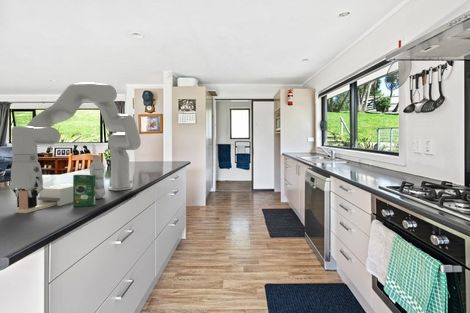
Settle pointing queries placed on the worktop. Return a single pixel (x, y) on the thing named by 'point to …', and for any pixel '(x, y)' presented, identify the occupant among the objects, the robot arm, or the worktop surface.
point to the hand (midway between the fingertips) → (27, 206)
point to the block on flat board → (24, 203)
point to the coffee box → (83, 190)
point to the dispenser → (57, 194)
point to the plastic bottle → (98, 176)
